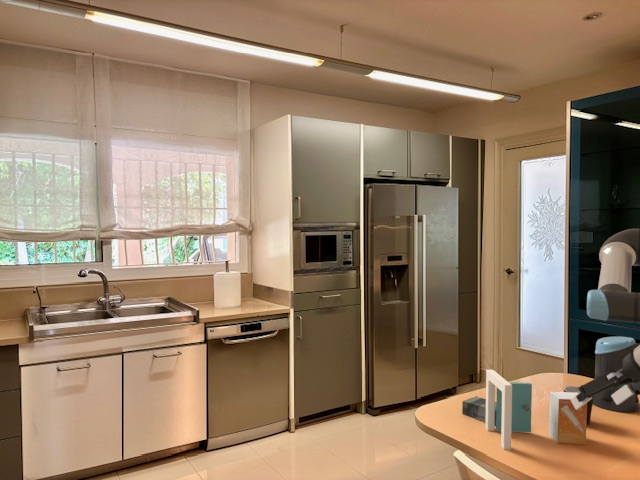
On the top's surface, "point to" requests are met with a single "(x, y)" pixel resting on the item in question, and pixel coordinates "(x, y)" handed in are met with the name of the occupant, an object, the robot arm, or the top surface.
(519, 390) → the door leaf
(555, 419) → the small box
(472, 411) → the stone block
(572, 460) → the top surface
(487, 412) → the door frame
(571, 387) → the coffee mug
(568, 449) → the top surface
